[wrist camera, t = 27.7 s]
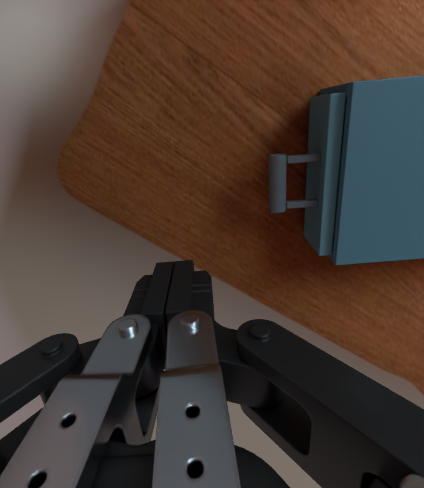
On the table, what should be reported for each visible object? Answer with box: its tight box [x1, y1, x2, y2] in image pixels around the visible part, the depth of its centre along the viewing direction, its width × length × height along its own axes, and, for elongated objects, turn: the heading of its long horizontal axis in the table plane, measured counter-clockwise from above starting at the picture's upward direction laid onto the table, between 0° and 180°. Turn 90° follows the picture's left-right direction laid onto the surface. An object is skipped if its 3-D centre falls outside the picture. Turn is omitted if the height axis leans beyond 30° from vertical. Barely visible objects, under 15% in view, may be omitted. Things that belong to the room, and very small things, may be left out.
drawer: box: [269, 92, 346, 256], centre depth 27 cm, size 23×14×5 cm, turn 95°
